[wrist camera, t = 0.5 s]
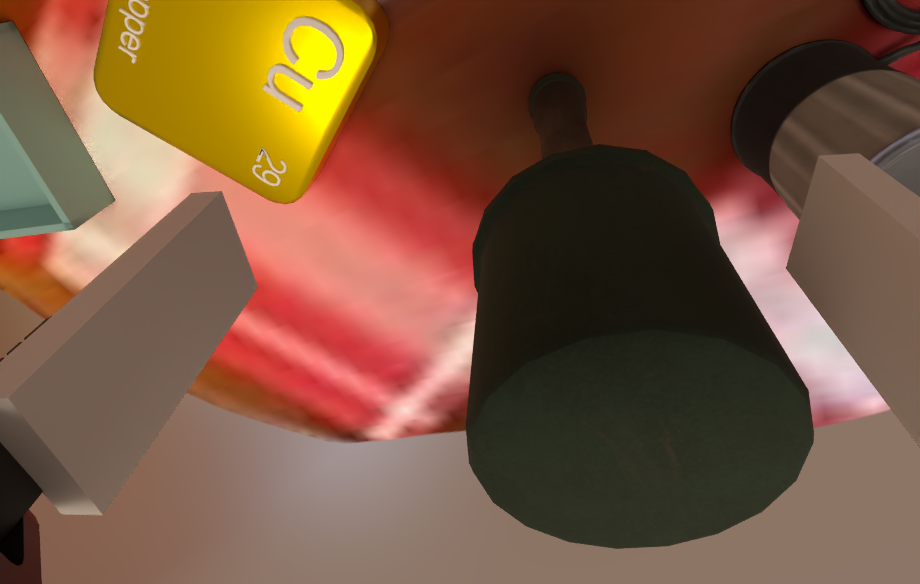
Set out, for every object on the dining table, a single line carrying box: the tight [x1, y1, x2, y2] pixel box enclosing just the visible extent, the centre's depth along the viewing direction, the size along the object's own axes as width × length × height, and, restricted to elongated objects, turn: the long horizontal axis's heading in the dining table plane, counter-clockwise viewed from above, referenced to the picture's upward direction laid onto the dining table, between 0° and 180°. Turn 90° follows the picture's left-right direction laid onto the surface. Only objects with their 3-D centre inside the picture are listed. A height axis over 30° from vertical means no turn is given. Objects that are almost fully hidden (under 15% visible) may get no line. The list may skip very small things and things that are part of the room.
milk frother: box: [731, 0, 920, 220], centre depth 28 cm, size 14×16×15 cm
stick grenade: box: [466, 73, 814, 549], centre depth 25 cm, size 8×9×30 cm
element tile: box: [94, 0, 389, 204], centre depth 35 cm, size 15×15×5 cm
